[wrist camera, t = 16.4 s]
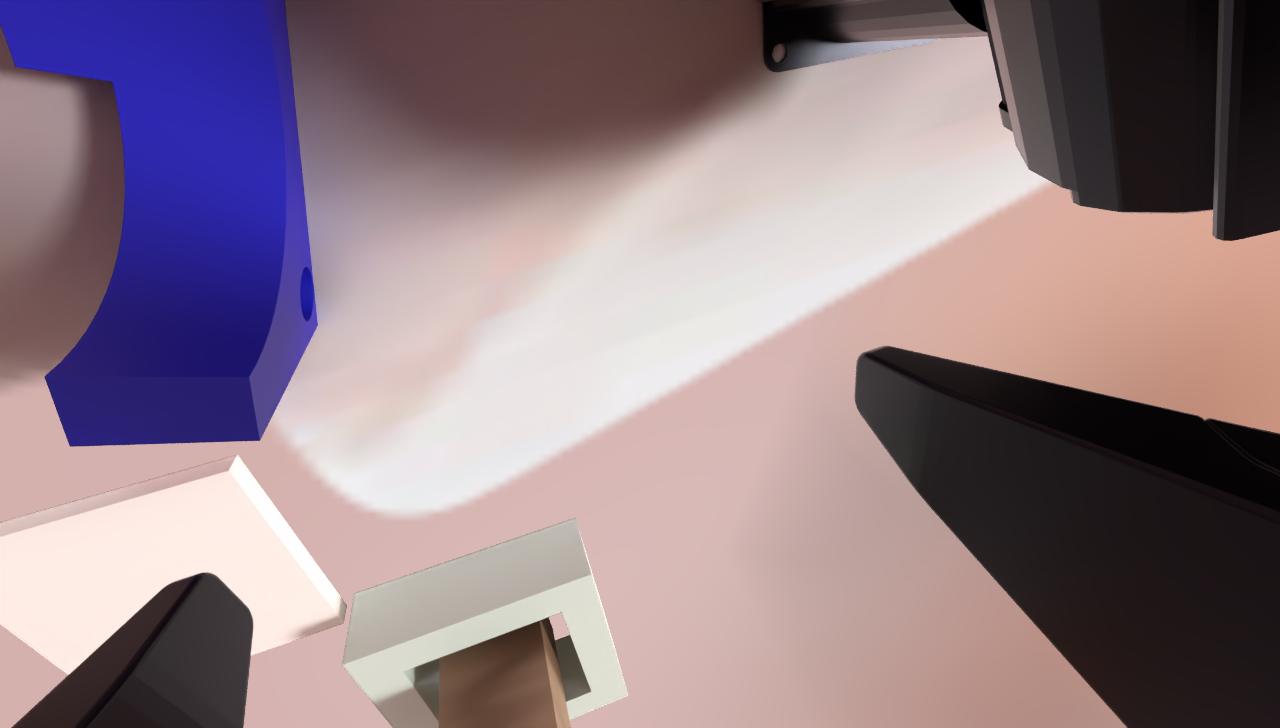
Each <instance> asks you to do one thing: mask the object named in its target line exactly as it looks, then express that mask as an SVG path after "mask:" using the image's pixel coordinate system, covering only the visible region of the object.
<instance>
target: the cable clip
mask: <svg viewBox="0 0 1280 728" xmlns="http://www.w3.org/2000/svg"><path fill="white" fill-rule="evenodd" d="M0 25H1V27H2V30H3V33H4V35H5V38H6V41H7V44H8V46H9V49H10V52H11V55H12V58H13V61H14V64H15V67H19V68H26V69H32V70H39V71H45V72H52V73H59V74H65V75H72V76H78V77H85V78H91V79H98V80H104V81H111V82H112V83H113V87H114V92H115V96H116V102H117V107H118V113H119V118H120V125H121V133H122V141H123V152H124V165H125V203H124V218H123V226H122V235H121V240H120V246H119V251H118V256H117V260H116V264H115V267H114V271H113V275H112V278H111V280H110V283H109V286H108V289H107V292H106V294H105V297H104V299H103V301H102V303H101V305H100V308H99V310H98V312H97V314H96V315H95V317H94V319H93V321H92V322H91V324H90V326H89V328H88V329H87V331H86V332H85V334H84V335H83V336H82V338H81V339H80V340H79V342H78V343H77V345H76V346H75V347H74V348H73V349H72V350H71V352H70V353H69V354H68V355H67V356H66V357H65V358H64V359H63V360H62V362H61V363H59V364H58V365H57V366H56V367H55V368H54V369H53V370H51V371H50V372H49V373H48V374H47V375H46V376H45V379H46V382H47V385H48V388H49V390H50V393H51V396H52V399H53V401H54V404H55V407H56V410H57V412H58V415H59V418H60V421H61V423H62V426H63V429H64V432H65V434H66V437H67V439H68V442H69V445H70V446H102V445H134V444H165V443H196V442H197V443H198V442H229V441H260V439H261V437H262V435H263V433H264V431H265V429H266V427H267V425H268V423H269V421H270V419H271V417H272V415H273V413H274V411H275V409H276V407H277V405H278V403H279V401H280V399H281V397H282V395H283V393H284V391H285V389H286V387H287V385H288V383H289V381H290V379H291V377H292V375H293V373H294V371H295V369H296V367H297V365H298V363H299V361H300V359H301V357H302V355H303V353H304V351H305V349H306V347H307V345H308V343H309V341H310V339H311V337H312V335H313V333H314V331H315V329H316V327H317V325H318V324H317V314H316V304H315V294H314V285H313V275H312V265H311V255H310V245H309V235H308V226H307V216H306V206H305V196H304V186H303V176H302V167H301V157H300V147H299V137H298V127H297V118H296V108H295V98H294V88H293V78H292V68H291V59H290V49H289V39H288V29H287V19H286V9H285V0H0Z"/></svg>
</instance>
